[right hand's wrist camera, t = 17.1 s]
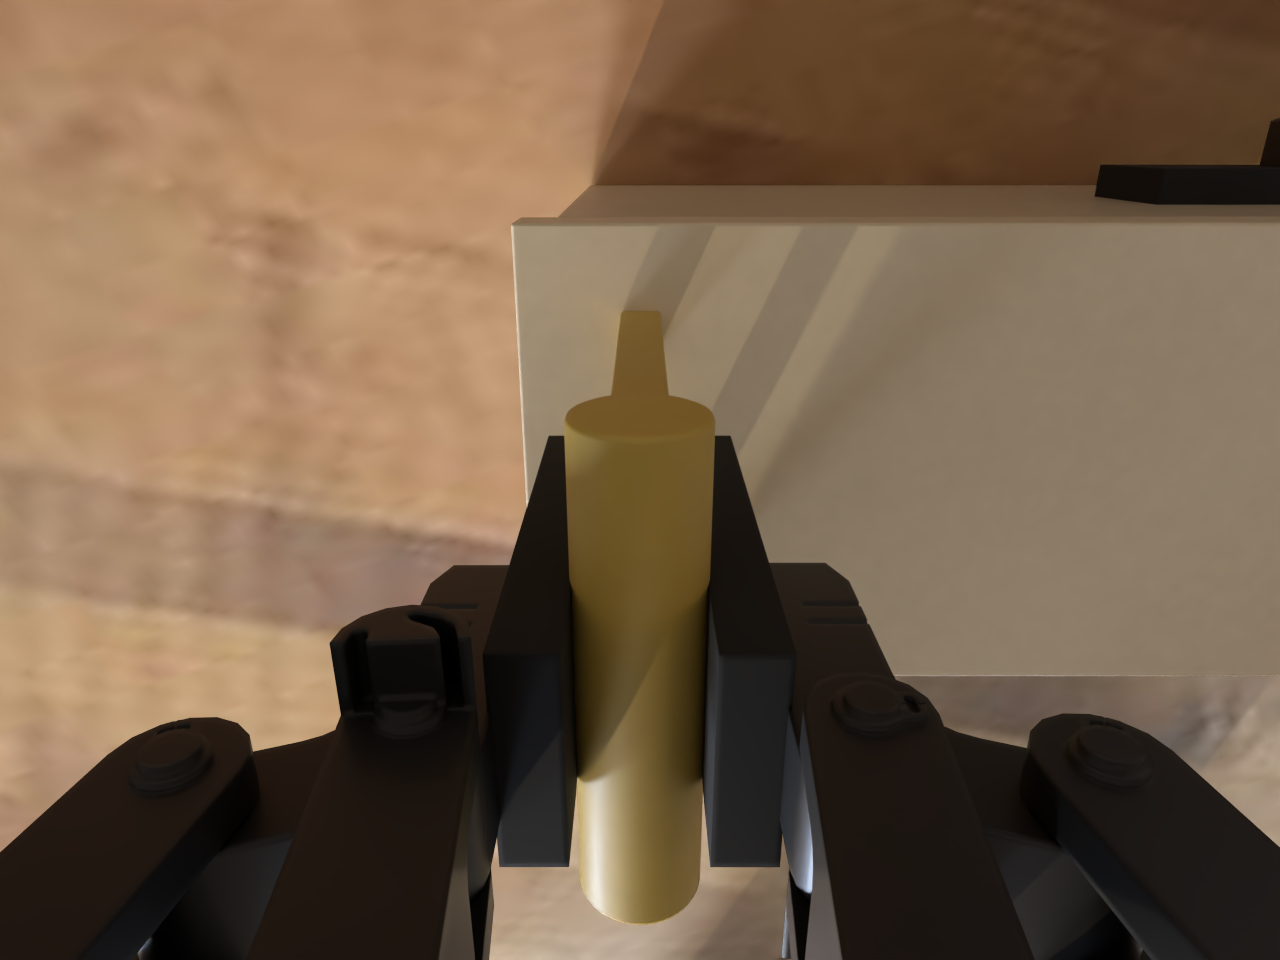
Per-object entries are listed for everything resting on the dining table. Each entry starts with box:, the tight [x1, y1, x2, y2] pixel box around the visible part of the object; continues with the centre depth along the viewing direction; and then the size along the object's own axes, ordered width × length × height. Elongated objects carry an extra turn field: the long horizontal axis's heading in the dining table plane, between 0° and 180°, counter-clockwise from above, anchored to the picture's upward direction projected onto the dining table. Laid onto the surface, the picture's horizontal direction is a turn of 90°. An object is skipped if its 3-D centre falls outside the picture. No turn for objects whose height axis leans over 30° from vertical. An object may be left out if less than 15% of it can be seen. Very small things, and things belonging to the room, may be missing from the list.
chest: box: [559, 185, 1280, 217], centre depth 22 cm, size 16×9×11 cm, turn 90°
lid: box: [511, 217, 1280, 925], centre depth 13 cm, size 16×9×8 cm, turn 90°
